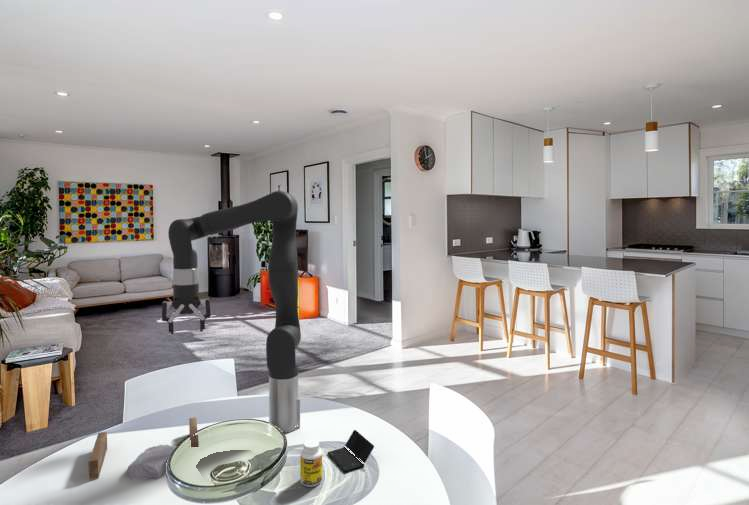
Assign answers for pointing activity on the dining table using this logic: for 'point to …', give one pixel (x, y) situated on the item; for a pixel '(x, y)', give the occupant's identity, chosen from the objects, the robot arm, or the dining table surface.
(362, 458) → the handheld gaming console
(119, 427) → the dining table surface
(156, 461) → the stone block
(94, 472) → the walnut chute
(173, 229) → the robot arm
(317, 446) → the supplement bottle
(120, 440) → the dining table surface
